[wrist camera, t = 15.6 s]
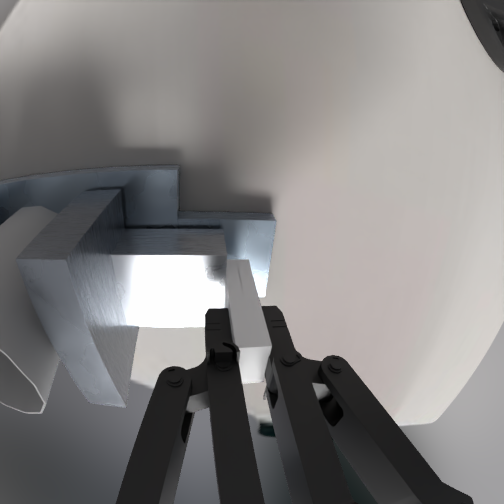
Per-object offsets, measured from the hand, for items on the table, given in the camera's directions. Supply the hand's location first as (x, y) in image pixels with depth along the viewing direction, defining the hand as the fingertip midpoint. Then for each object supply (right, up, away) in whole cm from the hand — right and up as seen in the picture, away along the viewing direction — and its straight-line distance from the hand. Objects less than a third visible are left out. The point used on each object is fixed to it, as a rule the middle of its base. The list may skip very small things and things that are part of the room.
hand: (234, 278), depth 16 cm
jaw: (-5, +1, 0) cm, 5 cm away
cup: (-14, +1, -1) cm, 14 cm away
